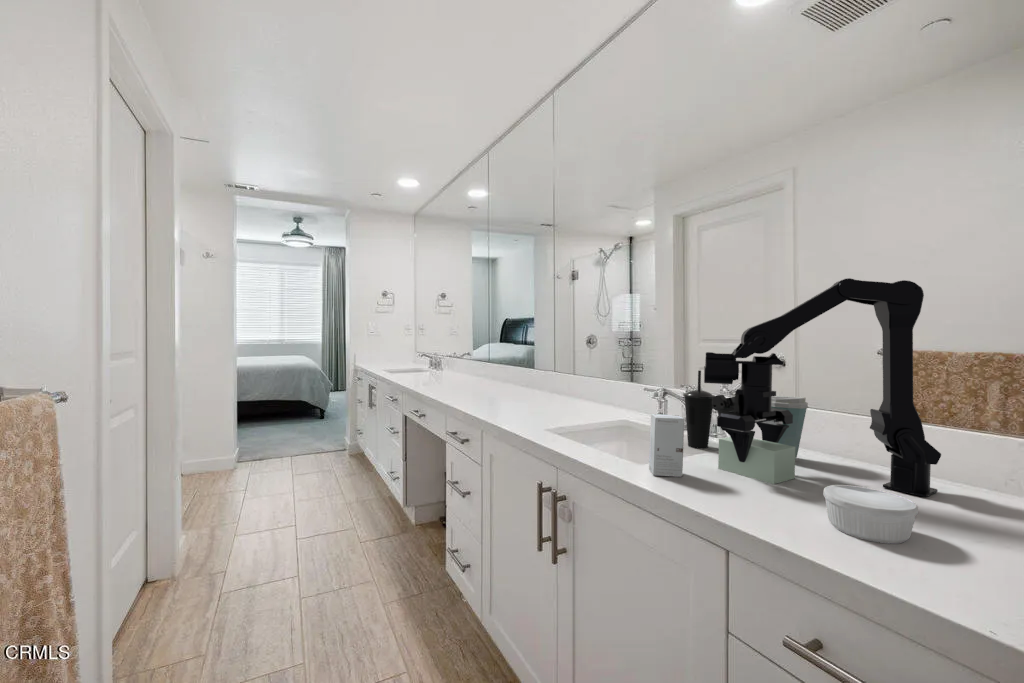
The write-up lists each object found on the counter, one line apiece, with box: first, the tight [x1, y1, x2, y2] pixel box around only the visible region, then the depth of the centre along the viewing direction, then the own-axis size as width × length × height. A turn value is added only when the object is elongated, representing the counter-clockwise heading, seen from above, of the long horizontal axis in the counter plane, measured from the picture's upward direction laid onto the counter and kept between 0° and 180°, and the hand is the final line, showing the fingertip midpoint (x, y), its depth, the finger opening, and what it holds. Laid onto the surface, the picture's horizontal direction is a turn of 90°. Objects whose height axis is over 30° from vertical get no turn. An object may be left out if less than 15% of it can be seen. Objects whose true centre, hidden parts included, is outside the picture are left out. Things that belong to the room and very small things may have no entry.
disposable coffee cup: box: [771, 396, 809, 460], centre depth 109 cm, size 11×11×15 cm
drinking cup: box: [683, 370, 716, 450], centre depth 119 cm, size 8×8×20 cm
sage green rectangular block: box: [717, 436, 796, 485], centre depth 96 cm, size 8×12×6 cm, turn 31°
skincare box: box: [648, 413, 685, 478], centre depth 95 cm, size 6×4×12 cm
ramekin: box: [823, 484, 919, 544], centre depth 68 cm, size 11×11×5 cm
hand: (754, 459), depth 96 cm, fingers open, 9 cm apart
